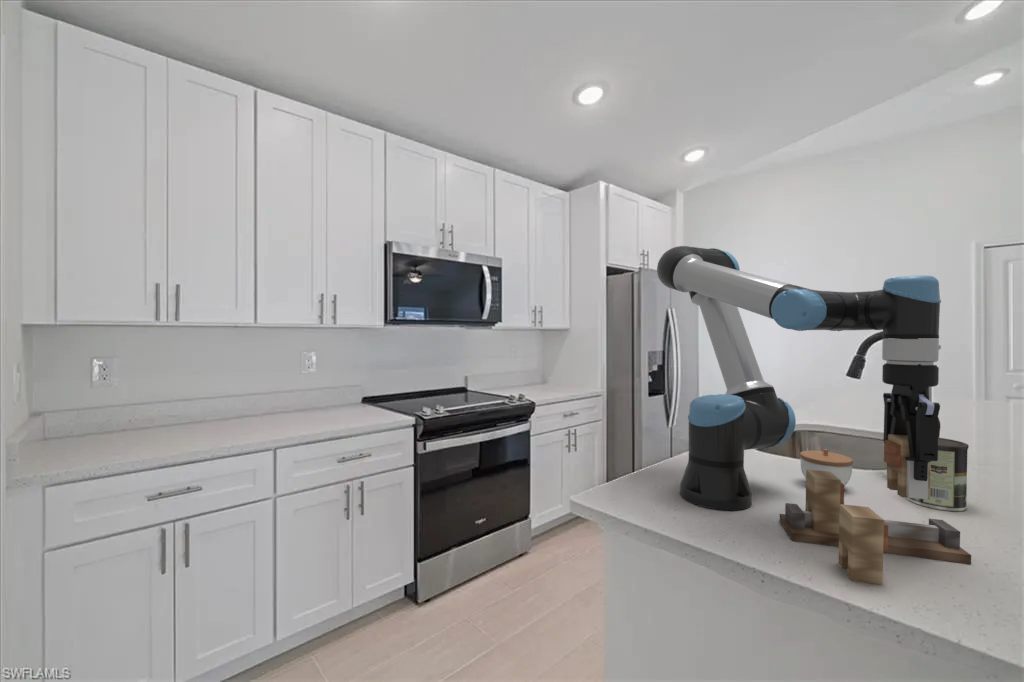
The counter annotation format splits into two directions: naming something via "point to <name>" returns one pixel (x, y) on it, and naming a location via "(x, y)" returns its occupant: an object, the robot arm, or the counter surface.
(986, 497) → the counter surface
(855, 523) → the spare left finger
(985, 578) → the counter surface
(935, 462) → the coffee can
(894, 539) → the rail board
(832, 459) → the lidded jar
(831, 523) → the block
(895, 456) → the right finger
